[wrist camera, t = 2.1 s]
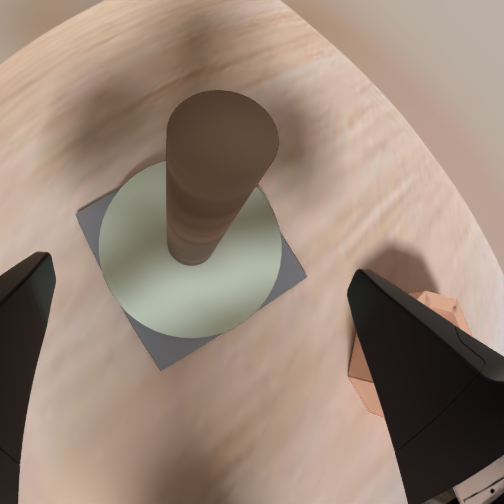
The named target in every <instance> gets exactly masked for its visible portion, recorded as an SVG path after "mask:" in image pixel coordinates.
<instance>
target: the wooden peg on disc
mask: <svg viewBox="0 0 504 504" xmlns="http://www.w3.org/2000/svg"><path fill="white" fill-rule="evenodd" d="M278 144H279V141H278V132H277V129H276V126H275V124H274V122H273V120H272V118H271V117H270V115H269V114H268V113H267V112H266V110H265V109H264V108H263V107H261V106H260V105H259V104H258V103H256V102H255V101H253V100H252V99H250V98H248V97H246V96H244V95H241V94H238V93H235V92H230V91H222V90H214V91H206V92H202V93H198V94H196V95H193V96H191V97H189V98H188V99H186V100H185V101H183V102H182V103H181V104H180V105H179V106H178V107H177V108H176V109H175V110H174V112H173V113H172V115H171V117H170V119H169V122H168V126H167V139H166V161H163V162H159V163H157V164H154V165H152V166H149V167H147V168H146V169H144V170H142V171H140V172H139V173H137V174H136V175H135V176H133V177H132V178H131V179H129V180H128V181H127V182H126V183H125V184H124V185H123V186H122V187H121V189H120V190H119V191H118V192H117V194H116V195H115V196H114V198H113V199H112V201H111V203H110V205H109V206H108V208H107V211H106V213H105V215H104V218H103V221H102V225H101V229H100V236H99V258H100V265H101V269H102V272H103V276H104V279H105V281H106V283H107V285H108V287H109V290H110V291H111V293H112V294H113V296H114V298H115V299H116V301H117V302H118V303H119V304H120V305H121V307H122V308H123V309H124V310H125V311H126V312H127V313H128V314H129V315H131V316H132V317H133V318H134V319H135V320H137V321H138V322H140V323H141V324H143V325H144V326H146V327H148V328H150V329H152V330H154V331H157V332H160V333H163V334H166V335H169V336H175V337H180V338H201V337H208V336H212V335H217V334H220V333H223V332H225V331H228V330H230V329H232V328H234V327H236V326H238V325H239V324H241V323H242V322H244V321H245V320H246V319H248V318H249V317H250V316H252V315H253V314H254V313H255V312H256V311H257V310H258V309H259V308H260V306H261V305H262V304H263V302H264V301H265V300H266V299H267V297H268V295H269V294H270V292H271V290H272V288H273V286H274V284H275V281H276V279H277V276H278V272H279V268H280V263H281V255H282V243H281V235H280V230H279V226H278V222H277V219H276V217H275V214H274V212H273V209H272V208H271V206H270V204H269V202H268V200H267V199H266V198H265V196H264V195H263V194H262V192H261V191H260V190H259V189H258V188H257V187H256V186H257V184H258V183H259V181H260V180H261V178H262V177H263V175H264V174H265V172H266V171H267V169H268V168H269V166H270V165H271V163H272V162H273V160H274V158H275V156H276V154H277V150H278Z"/></svg>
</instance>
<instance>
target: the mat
mask: <svg viewBox="0 0 504 504" xmlns="http://www.w3.org/2000/svg"><path fill="white" fill-rule="evenodd" d="M119 190H120V189H119ZM119 190H117V191H115V192H113V193H111V194H110V195H108V196H106V197H104V198H102V199H101V200H99V201H97V202H95V203H94V204H92V205H90V206H88V207H87V208H85V209H83V210H81V211H80V212H78V213H76V214H75V215H76V217H77V219H78V221H79V224H80V226H81V228H82V230H83V233H84V235H85V237H86V239H87V241H88V243H89V245H90V248H91V250H92V252H93V254H94V256H95V258H96V260H97V262H98V264H99V266H100V268H101V265H100V258H99V236H100V229H101V225H102V221H103V218H104V215H105V213H106V211H107V208H108V206H109V205H110V203H111V201H112V199H113V198H114V196H115V195H116V194H117V192H118V191H119ZM280 235H281V233H280ZM281 243H282V255H281V263H280V268H279V272H278V276H277V279H276V281H275V284H274V286H273V288H272V290H271V292H270V294H269V295H268V297H267V299H266V300H265V301H264V302H263V304H262V305H261V306H260V308H262V307H263V306H265V305H266V304H268V303H269V302H271V301H272V300H274V299H275V298H277V297H278V296H280V295H281V294H283V293H284V292H286V291H287V290H289V289H290V288H292V287H293V286H295V285H296V284H298V283H299V282H301V281H302V280H303V279H305V278H306V277H307V276H306V274H305V272H304V271H303V269H302V267H301V266H300V264H299V262H298V261H297V259H296V258H295V256H294V254H293V253H292V251H291V249H290V248H289V246H288V245H287V243H286V241H285V240H284V238H283V237H282V235H281ZM101 270H102V269H101ZM260 308H259V309H260ZM122 309H123V308H122ZM259 309H258V310H259ZM123 311H124V313H125V314H126V316H127V318H128V319H129V321H130V323H131V325H132V326H133V328H134V330H135V331H136V333H137V335H138V336H139V338H140V340H141V341H142V343H143V344H144V346H145V348H146V349H147V351H148V352H149V354H150V356H151V357H152V359H153V360H154V362H155V363H156V365H157V366H158V368H159V369H160V371H161V370H163V369H165V368H166V367H168V366H170V365H171V364H173V363H175V362H176V361H178V360H180V359H181V358H183V357H185V356H186V355H188V354H189V353H191V352H193V351H194V350H196V349H198V348H199V347H201V346H202V345H204V344H206V343H207V342H209V341H210V340H212V339H214V338H215V337H217V336H218V335H220V334H222V333H220V334H217V335H212V336H208V337H201V338H180V337H175V336H169V335H166V334H163V333H160V332H157V331H154V330H152V329H150V328H148V327H146V326H144V325H143V324H141V323H140V322H138V321H137V320H135V319H134V318H133V317H132V316H131V315H129V314H128V313H127V312H126V311H125V310H124V309H123Z"/></svg>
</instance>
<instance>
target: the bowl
mask: <svg viewBox="0 0 504 504" xmlns="http://www.w3.org/2000/svg"><path fill="white" fill-rule="evenodd" d="M408 294H409V295H411V296H412V297H414V298H415V299H417V300H418V301H420V302H421V303H423V304H424V305H426V306H427V307H429V308H430V309H432V310H433V311H435V312H436V313H438V314H439V315H441V316H442V317H444V318H445V319H447V320H448V321H450V322H451V323H453V325H456V326H457V327H459V328H460V329H462V330H463V331H464V332H466V333H467V334H469V335H470V336H472V334H471V332H470V329H469V326H468V324H467V321H466V319H465V316H464V314H463V311H462V309H461V306H460V304H459V302H458V301H457V300H456V299H453V298H450V297H446V296H443V295H439V294H436V293H433V292H429V291H421V292H414V293H408ZM348 375H349V379H350V381H351V382H352V384H353V386H354V388H355V389H356V391H357V393H358V394H359V396H360V398H361V399H362V401H363V403H364V405H365V406H366V408H367V410H368V411H369V412H370V413H373V414H376V415H378V416H381V417H384V414H383V411H382V408H381V404H380V401H379V398H378V395H377V392H376V389H375V386H374V383H373V380H372V377H371V374H370V371H369V368H368V365H367V362H366V359H365V356H364V354H363V351H362V348H361V345H360V342H359V339H358V336H357V332H356V336H355V342H354V347H353V352H352V358H351V363H350V368H349V372H348ZM384 418H385V417H384Z"/></svg>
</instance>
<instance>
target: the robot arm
mask: <svg viewBox="0 0 504 504" xmlns="http://www.w3.org/2000/svg"><path fill="white" fill-rule="evenodd" d="M55 284H56V276H55V271H54V267H53V262H52V257H51V255H50V253H48V252H35V253H34V254H32V255H31V256H29V257H28V258H26V259H25V260H23V261H21V262H20V263H18V264H17V265H15V266H14V267H12V268H11V269H9V270H8V271H6V272H5V273H3V274H2V275H1V276H0V504H18V492H19V474H20V460H21V450H22V442H23V434H24V427H25V421H26V415H27V409H28V403H29V398H30V393H31V388H32V384H33V379H34V375H35V370H36V366H37V362H38V358H39V354H40V350H41V347H42V343H43V339H44V336H45V332H46V328H47V323H48V317H49V312H50V307H51V302H52V298H53V293H54V289H55ZM347 297H348V301H349V305H350V309H351V313H352V317H353V320H354V324H355V328H356V332H357V336H358V339H359V342H360V345H361V348H362V351H363V354H364V356H365V359H366V362H367V365H368V368H369V371H370V374H371V377H372V380H373V383H374V386H375V389H376V392H377V395H378V398H379V401H380V404H381V408H382V411H383V414H384V417H385V421H386V424H387V427H388V430H389V434H390V437H391V441H392V444H393V448H394V451H395V455H396V459H397V462H398V466H399V470H400V474H401V477H402V481H403V485H404V489H405V493H406V497H407V501H408V504H423V503H425V502H427V501H429V500H431V499H433V498H435V497H437V496H438V495H440V494H442V493H444V492H446V491H448V490H450V489H451V488H453V489H454V491H455V494H456V496H455V497H454V498H452V499H451V500H449V501H447V502H446V503H444V504H504V356H502V355H500V354H499V353H497V352H496V351H494V350H492V349H491V348H489V347H488V346H486V345H484V344H483V343H481V342H480V341H478V340H477V339H475V338H473V337H472V336H470V335H469V334H467V333H466V332H464V331H463V330H462V329H460V328H459V327H457V326H456V325H453V323H451V322H450V321H448V320H447V319H445V318H444V317H442V316H441V315H439V314H438V313H436V312H435V311H433V310H432V309H430V308H429V307H427V306H426V305H424V304H423V303H421V302H420V301H418V300H417V299H415V298H414V297H412V296H411V295H409V294H407V293H406V292H404V291H403V290H401V289H400V288H398V287H397V286H395V285H393V284H392V283H390V282H389V281H387V280H386V279H384V278H382V277H381V276H379V275H378V274H376V273H375V272H373V271H371V270H369V269H358V270H357V271H356V272H355V274H354V276H353V279H352V281H351V283H350V285H349V288H348V291H347Z"/></svg>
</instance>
